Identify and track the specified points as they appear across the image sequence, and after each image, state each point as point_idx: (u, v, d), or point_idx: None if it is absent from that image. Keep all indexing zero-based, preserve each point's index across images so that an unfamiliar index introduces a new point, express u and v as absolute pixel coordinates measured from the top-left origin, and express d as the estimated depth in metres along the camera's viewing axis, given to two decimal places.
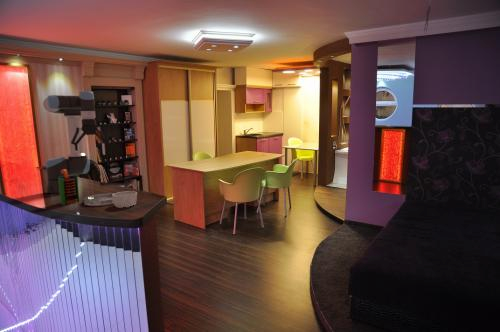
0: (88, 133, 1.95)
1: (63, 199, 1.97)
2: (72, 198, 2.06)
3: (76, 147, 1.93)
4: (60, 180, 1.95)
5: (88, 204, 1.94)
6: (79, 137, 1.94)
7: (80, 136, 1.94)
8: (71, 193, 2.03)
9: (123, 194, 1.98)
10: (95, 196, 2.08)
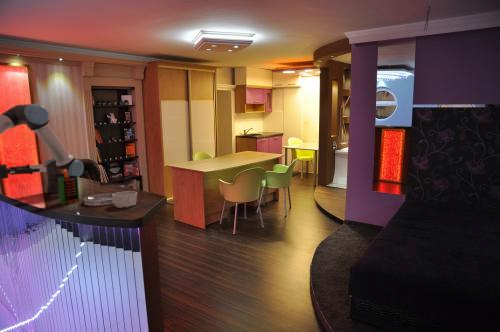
0: None
1: (63, 199, 1.97)
2: (72, 198, 2.06)
3: None
4: (60, 180, 1.95)
5: (88, 204, 1.94)
6: (21, 168, 1.91)
7: (20, 169, 1.90)
8: (71, 193, 2.03)
9: (123, 194, 1.98)
10: (95, 196, 2.08)
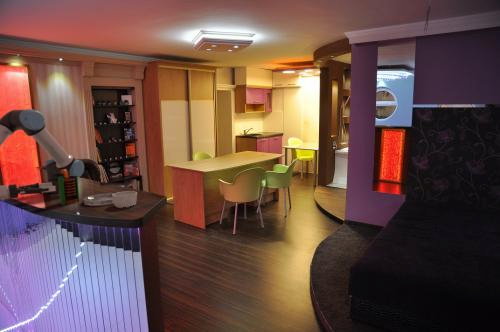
0: None
1: (63, 199, 1.97)
2: (72, 198, 2.06)
3: None
4: (60, 180, 1.95)
5: (88, 204, 1.94)
6: None
7: (29, 188, 1.93)
8: (71, 193, 2.03)
9: (123, 194, 1.98)
10: (95, 196, 2.08)
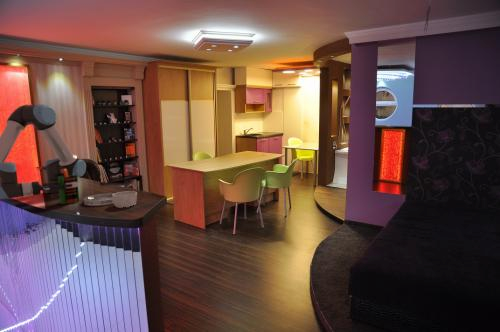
0: None
1: (63, 198, 1.97)
2: (72, 198, 2.06)
3: None
4: (60, 179, 1.96)
5: (88, 204, 1.94)
6: None
7: (53, 185, 1.99)
8: (71, 193, 2.03)
9: (123, 194, 1.98)
10: (95, 196, 2.08)
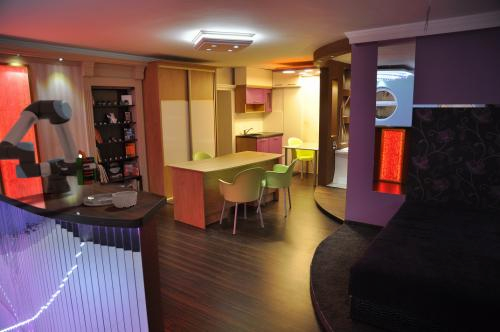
0: None
1: (80, 179, 1.94)
2: (89, 180, 2.03)
3: None
4: (78, 160, 1.93)
5: (88, 204, 1.94)
6: (71, 165, 1.97)
7: None
8: (88, 174, 2.01)
9: (123, 194, 1.98)
10: (95, 196, 2.08)
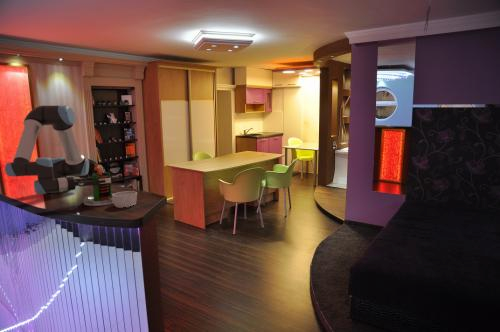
0: None
1: (97, 196, 1.98)
2: (104, 195, 2.06)
3: None
4: (94, 177, 1.96)
5: (88, 204, 1.94)
6: (86, 179, 2.01)
7: None
8: (104, 190, 2.04)
9: (123, 194, 1.98)
10: None
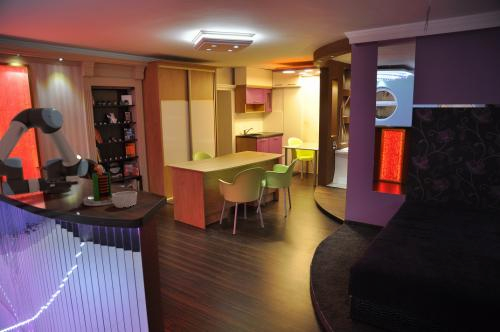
0: None
1: (97, 196, 1.98)
2: (104, 195, 2.06)
3: None
4: (94, 177, 1.96)
5: (88, 204, 1.94)
6: (58, 180, 1.93)
7: None
8: (104, 190, 2.04)
9: (123, 194, 1.98)
10: None
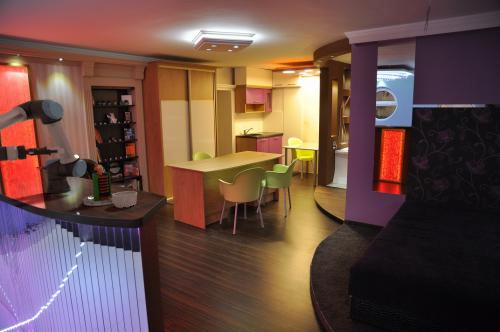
0: None
1: (97, 196, 1.98)
2: (104, 195, 2.06)
3: None
4: (94, 177, 1.96)
5: (88, 204, 1.94)
6: (38, 149, 1.91)
7: None
8: (104, 190, 2.04)
9: (123, 194, 1.98)
10: None
